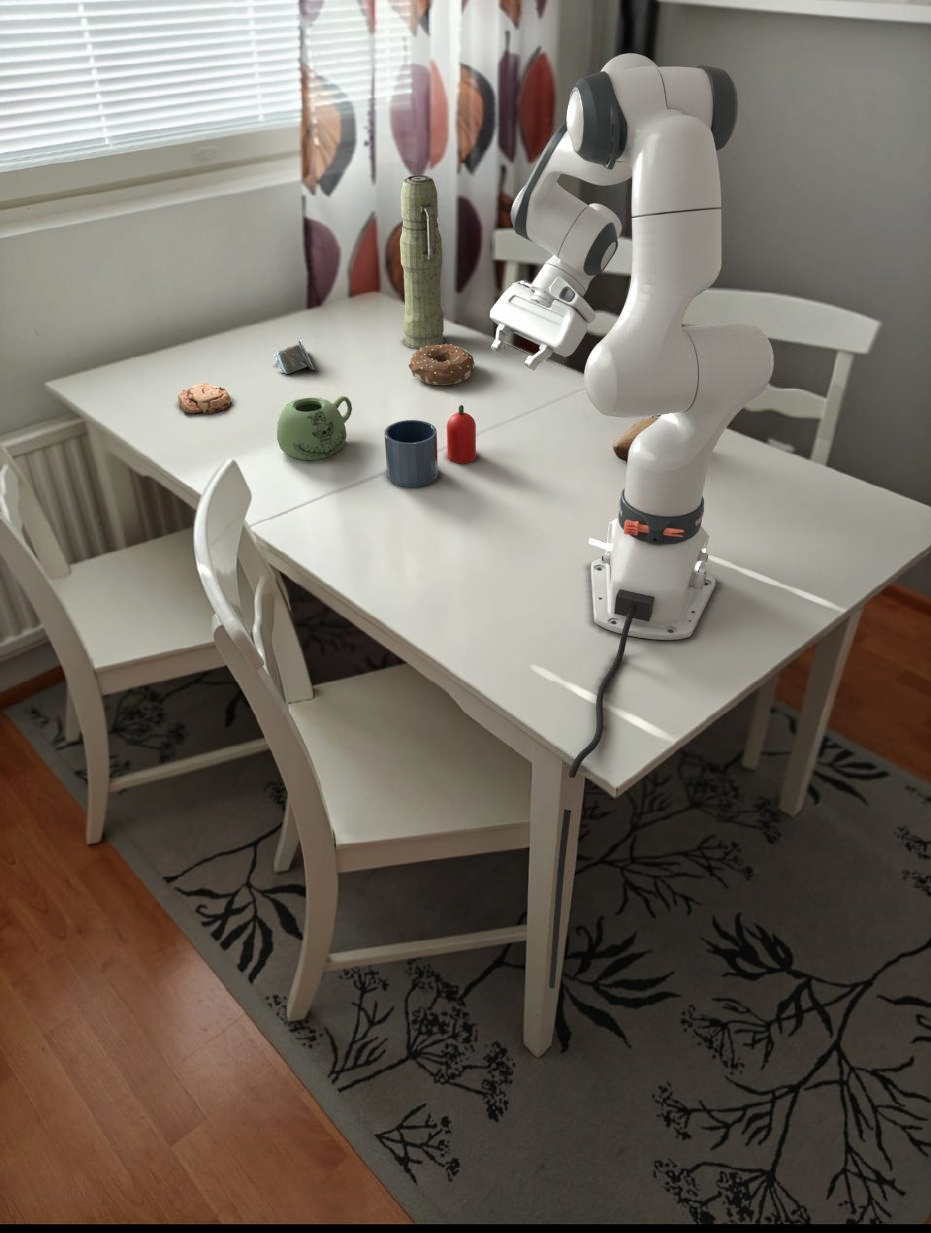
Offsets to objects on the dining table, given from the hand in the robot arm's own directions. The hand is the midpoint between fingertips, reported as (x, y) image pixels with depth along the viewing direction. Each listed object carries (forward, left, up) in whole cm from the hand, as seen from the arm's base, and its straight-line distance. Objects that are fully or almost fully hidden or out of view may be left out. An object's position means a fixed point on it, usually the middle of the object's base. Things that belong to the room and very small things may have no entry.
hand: (511, 358), depth 179 cm
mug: (-11, +34, -16) cm, 39 cm away
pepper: (-9, +7, -16) cm, 20 cm away
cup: (-18, +14, -16) cm, 28 cm away
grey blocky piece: (+22, +53, -16) cm, 60 cm away
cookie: (0, +63, -16) cm, 65 cm away
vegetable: (-1, -27, -16) cm, 31 cm away
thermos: (+41, +29, -16) cm, 53 cm away
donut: (+24, +20, -16) cm, 35 cm away
